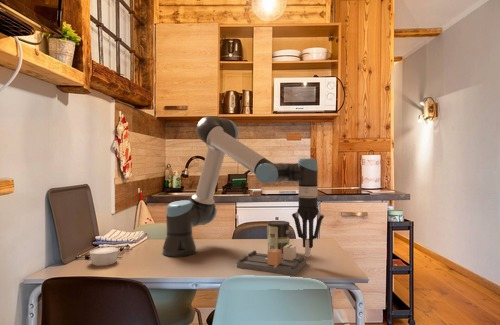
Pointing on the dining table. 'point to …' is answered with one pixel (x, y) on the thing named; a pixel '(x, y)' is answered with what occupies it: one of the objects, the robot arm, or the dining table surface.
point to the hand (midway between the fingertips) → (307, 255)
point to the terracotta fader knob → (274, 257)
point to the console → (261, 263)
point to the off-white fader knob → (289, 252)
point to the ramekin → (104, 256)
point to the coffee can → (278, 234)
